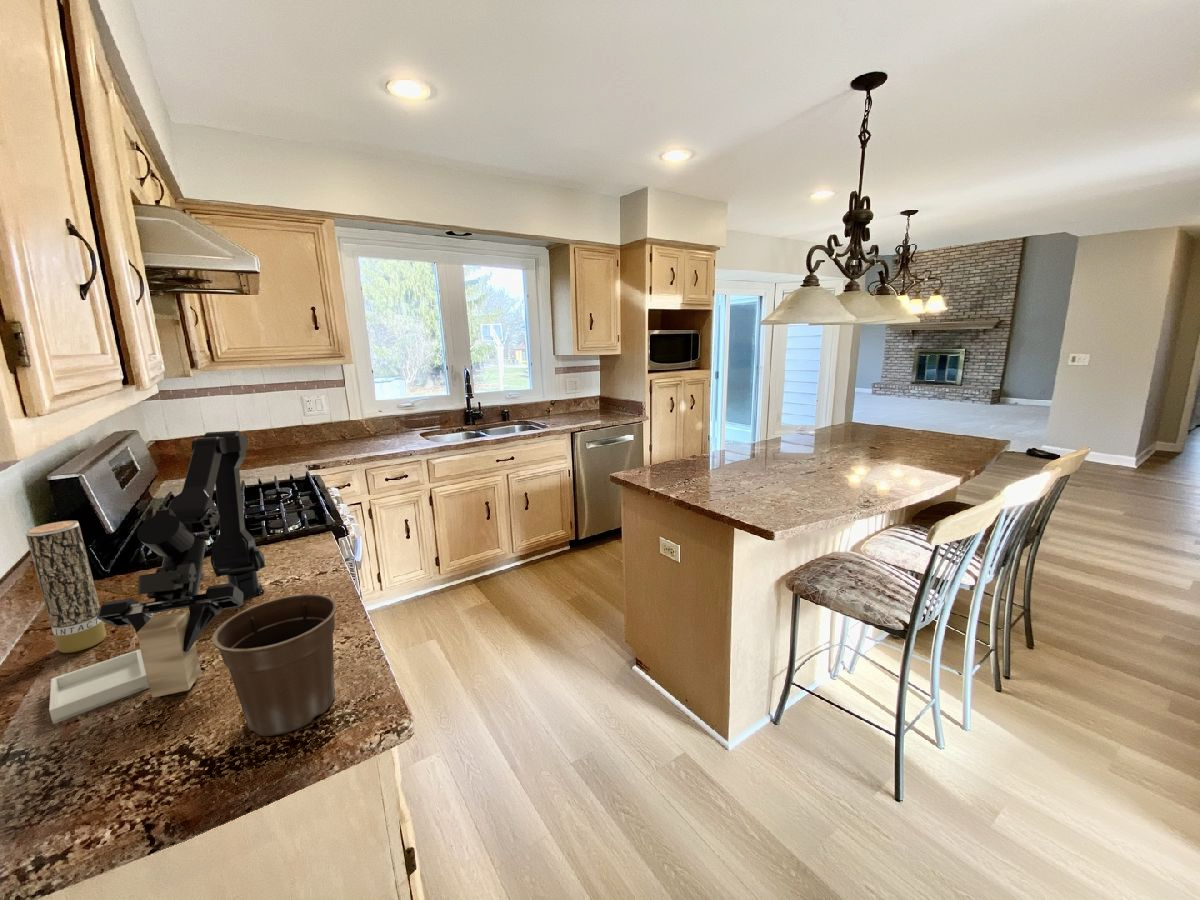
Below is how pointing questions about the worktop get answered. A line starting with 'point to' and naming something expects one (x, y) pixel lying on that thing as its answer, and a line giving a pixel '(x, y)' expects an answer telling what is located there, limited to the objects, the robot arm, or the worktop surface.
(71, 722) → the worktop surface
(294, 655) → the plant pot
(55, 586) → the bark-printed cylinder
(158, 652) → the beech block
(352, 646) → the worktop surface
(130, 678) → the tray
